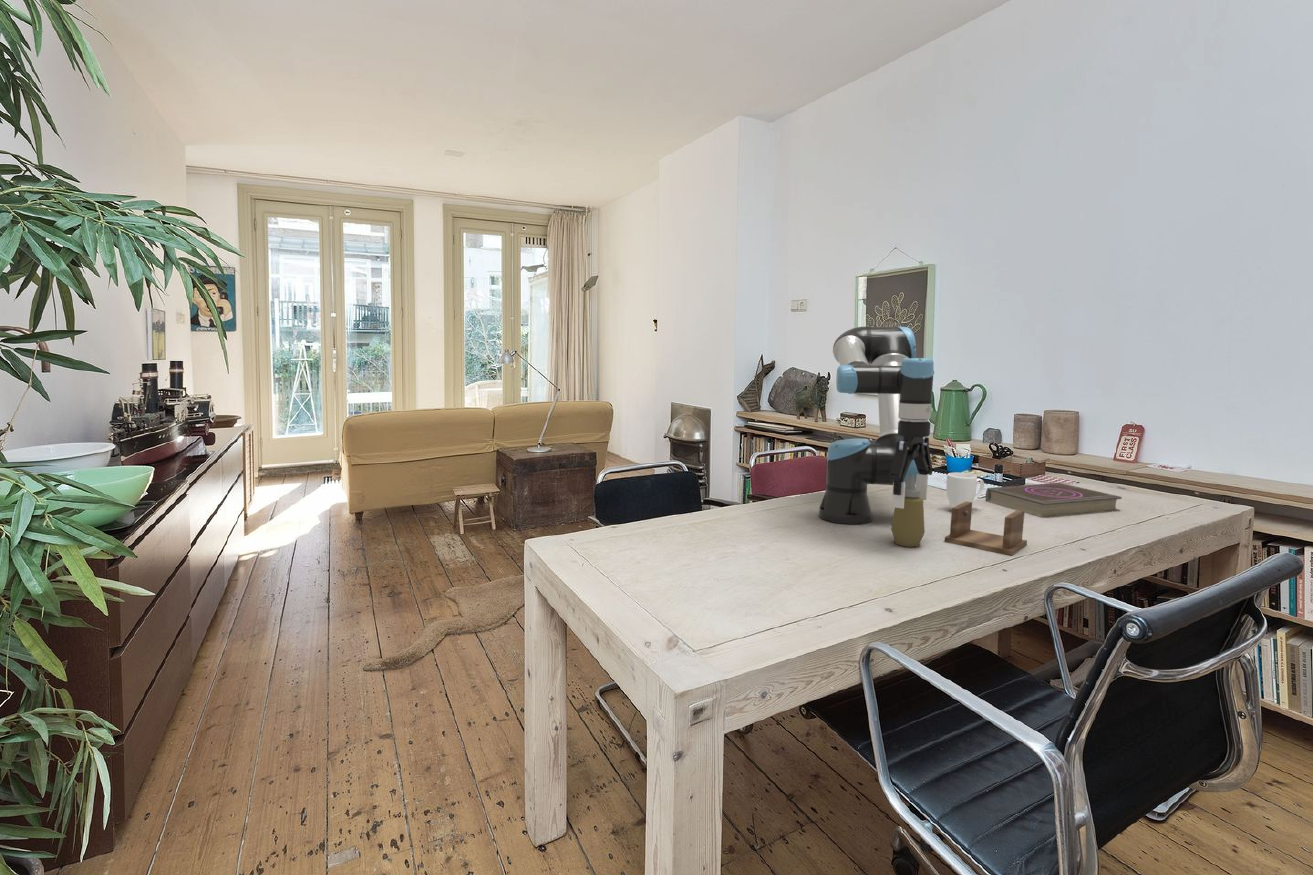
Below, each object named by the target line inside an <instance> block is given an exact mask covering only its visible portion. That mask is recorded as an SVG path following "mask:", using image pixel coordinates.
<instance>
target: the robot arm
mask: <svg viewBox="0 0 1313 875" xmlns="http://www.w3.org/2000/svg"><path fill="white" fill-rule="evenodd" d="M834 341H835V342H834V343H833V346H832V353H833V357H834V359H835V360H836V362H837V363H839V366H838V367H837V369H836V380H835V381H836V383H835V384H836V391H837V392H838V393H841V394H848V395H852V394H859V395H860V394H870V395H871V394H872V395H874V394H877V397H878V399H877V402H878V420H879V424H878V425H879V436H877V438H876V439H875V440H874V443H873V444H871V442H870V439H867V438H845V439H840V440H836V441H833V442H831V443H830V444H828V448H827V457H826V460H827V461H826V463H827V464H826V483H825V492H824V495H823V498H822V500H821V503H820V504H819V508H818V517H819V518H820V519H822V520H824V521H828V522H831V523H837V524H844V525H845V524H846V525H859V524H860V525H861V524H867V523H870V522H871V521H872V520H873V511H872V507H871V506H872V505H871V504H870V503H871V502H870V499H869V497H868V496H869V495H868V485H883V486H885V485H886V486H892V498H891V507H892V508H895V507H896V508H902V509H903V508H904V497H905V486H906V483H907V479H908V476H909V475H914V481H915V487H916V489H919V490H920V496H919V497H920V498H921V499H922V500H923V501H927V498H928V497H927V496H928V482H929V475H930V476H932V474H933V464H932V457H931V451H930V438H929V436H930V434H931V422H930V421H929V420H930V419H931V417H932V412H933V410H934V408H933V407H932V402H933V401H932V400H933V387H934V386H933V384H934V375H935V370H934V368H935V367H934V365H935V364H934V359H932V358H926V357H925V358H922V357H921V358H920V357H919V358H917V357H916V355H917V349H916V346H917V344H916V337H915V334H914V332H913V330H912V329H911V328H909V327H907V326H898V325H894V326H858V327H857V326H856V327H853V328H851V329H847V330H846V331H844V332H843V333H841V334H840V335H839V336H838V337H836V339H835V340H834Z"/></svg>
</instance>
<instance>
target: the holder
mask: <svg viewBox="0 0 1313 875" xmlns="http://www.w3.org/2000/svg"><path fill="white" fill-rule="evenodd" d="M972 511H973V503H972V502H967V501H966V502H964V503H961V504H959V505H957V506H955V507H953V508H952V509H951V514H950V516H951V517H950V529H949V531H950V532H949V534H948V535H946V536H945V537H944V542H945V543H950V544H954V545H959V546H963V547H964V546H965V547H969V548H974V549H979V550H983V551H989V552H993V553H996V554H997V553H998V554H1002V555H1007V556H1013V555H1015V554H1016V553H1018V552H1019V551H1021V550H1022V549H1024V548H1025V547H1026V546H1027V545H1028V540H1027V539H1023V532H1024V521H1025V520H1024V519H1025V513H1024V511H1022V510H1014V511H1013V512H1011V513H1009V514H1008V515H1005V517H1004V522H1003V523H1004V524H1003V535H1000V534H995V533H990V532H984V531H980V530H979V531H978V530H975V529H971V525H972V514H973V513H972Z"/></svg>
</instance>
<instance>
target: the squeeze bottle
mask: <svg viewBox="0 0 1313 875" xmlns="http://www.w3.org/2000/svg"><path fill="white" fill-rule="evenodd" d="M919 496H920V490H919V489H916V485H915V481H914V475H909V476H908V479H907V483H906V485H905V497H904V508H903V509H902V508H896V507H894V511H893V516H892V522H891V528H890V529H891V533H892V537H893V540H894V543H895V544H896V545H899V546H903V547H908V548H909V547H912V548H913V547H914V548H915V547H918V546H920V544H921V541H922V539H923V538H924V535H925V533H926V532H925V514H924V512H925V511H924V510H925V509H924V500H922V499H921V498H920V497H919Z"/></svg>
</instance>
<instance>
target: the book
mask: <svg viewBox="0 0 1313 875" xmlns="http://www.w3.org/2000/svg"><path fill="white" fill-rule="evenodd" d="M1118 500H1122V496H1120V495H1119V496H1118V495H1115V494H1110V493H1106V492H1101V491H1098V490H1097V491H1096V490H1092V489H1088V488H1084V487H1080V486H1075V485H1071V484H1067V483H1061V482H1052V483H1039V484H1037V483H1035V484H1026V485H1025V484H1024V485H1009V486H1008V485H1007V486H998V487H997V486H996V487H987V488H986V491H985V502H988V503H989V504H990V503H991V504H995V505H997V506H1001V507H1005V508H1009V509H1011V510H1014V511H1016V510H1022V511H1024V514H1028V515H1032V516H1036V517H1038V518H1042V519H1048V518H1059V517H1067V516H1068V517H1069V516H1080V515H1088V514H1089V515H1090V514H1101V513H1109V512H1110V513H1112V511H1113V512H1121V510H1120V509H1117V508H1116V506H1117V505H1116V503H1117V501H1118Z"/></svg>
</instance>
